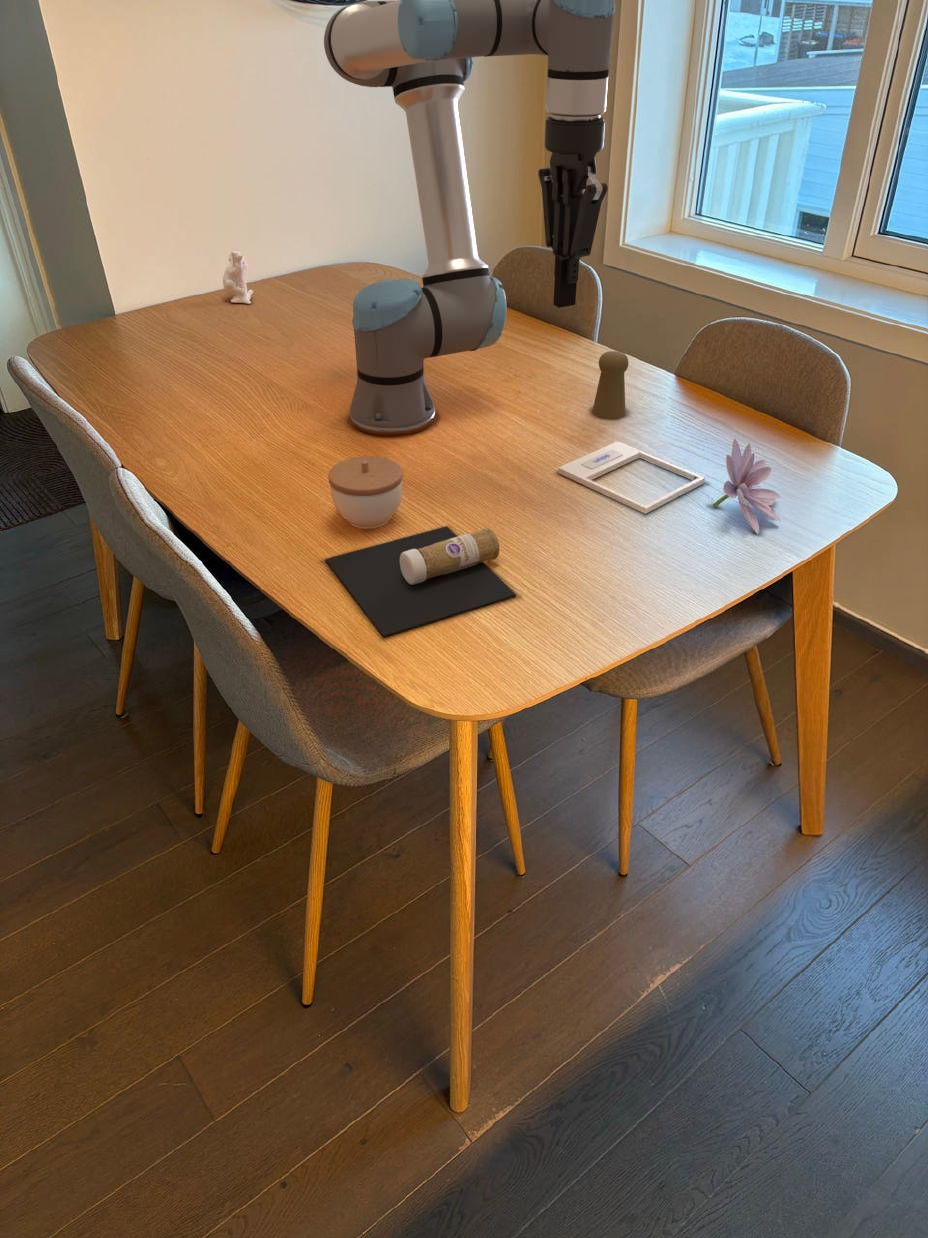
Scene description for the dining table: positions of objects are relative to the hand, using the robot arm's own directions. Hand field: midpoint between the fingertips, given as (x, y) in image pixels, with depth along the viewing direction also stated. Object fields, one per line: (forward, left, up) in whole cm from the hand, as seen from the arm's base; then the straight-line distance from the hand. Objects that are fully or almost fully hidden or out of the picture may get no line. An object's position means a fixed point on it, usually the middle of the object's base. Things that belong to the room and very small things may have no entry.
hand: (564, 304), depth 131 cm
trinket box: (-4, -30, -29) cm, 42 cm away
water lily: (+22, +20, -29) cm, 41 cm away
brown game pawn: (-19, +24, -29) cm, 42 cm away
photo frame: (+4, +12, -28) cm, 31 cm away
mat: (+14, -30, -28) cm, 44 cm away
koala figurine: (-114, -16, -29) cm, 119 cm away
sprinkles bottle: (+14, -19, -26) cm, 35 cm away
